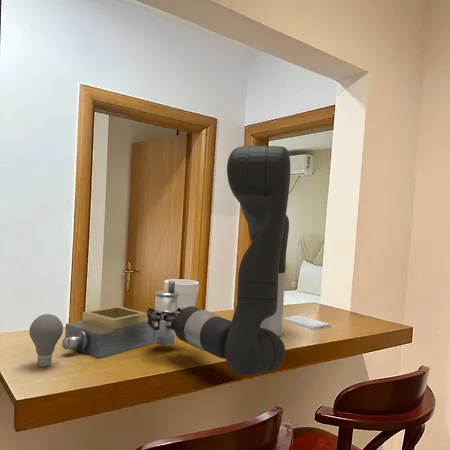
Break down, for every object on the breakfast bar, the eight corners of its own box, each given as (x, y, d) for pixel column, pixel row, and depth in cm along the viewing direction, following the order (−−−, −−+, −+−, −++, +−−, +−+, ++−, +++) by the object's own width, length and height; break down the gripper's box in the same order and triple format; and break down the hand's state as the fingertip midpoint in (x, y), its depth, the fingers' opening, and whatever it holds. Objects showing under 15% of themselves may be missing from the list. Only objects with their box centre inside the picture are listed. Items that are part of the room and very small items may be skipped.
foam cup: (190, 335, 108) (193, 285, 108) (156, 331, 110) (159, 282, 110) (199, 326, 118) (202, 281, 117) (168, 323, 119) (171, 278, 119)
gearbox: (125, 331, 108) (127, 303, 108) (159, 341, 102) (161, 311, 102) (48, 349, 90) (50, 316, 90) (83, 363, 83) (85, 327, 83)
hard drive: (282, 317, 132) (313, 326, 122) (300, 315, 137) (331, 323, 127) (282, 322, 132) (313, 332, 122) (299, 320, 137) (330, 328, 127)
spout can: (163, 337, 100) (166, 278, 99) (180, 341, 97) (184, 281, 96) (147, 341, 95) (150, 280, 95) (165, 346, 92) (168, 283, 92)
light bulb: (59, 370, 79) (62, 318, 79) (24, 372, 77) (27, 318, 77) (62, 360, 84) (65, 311, 84) (30, 361, 83) (32, 311, 83)
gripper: (229, 307, 89) (186, 293, 102) (171, 313, 80) (132, 297, 93) (227, 342, 89) (185, 323, 102) (169, 352, 80) (131, 330, 94)
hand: (160, 311), depth 98 cm, fingers closed on spout can, 5 cm apart
